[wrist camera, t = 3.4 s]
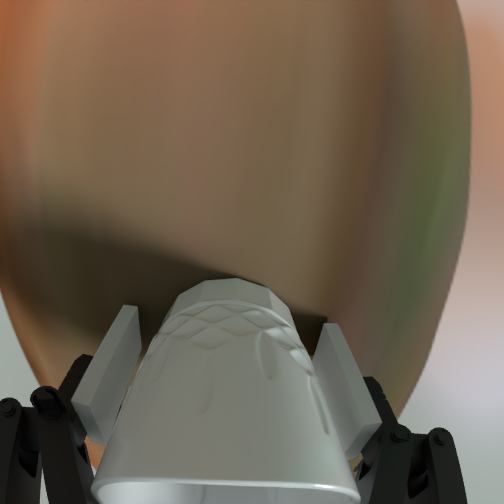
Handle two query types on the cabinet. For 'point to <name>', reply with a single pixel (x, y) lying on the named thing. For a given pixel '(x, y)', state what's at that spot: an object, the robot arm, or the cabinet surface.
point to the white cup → (225, 411)
